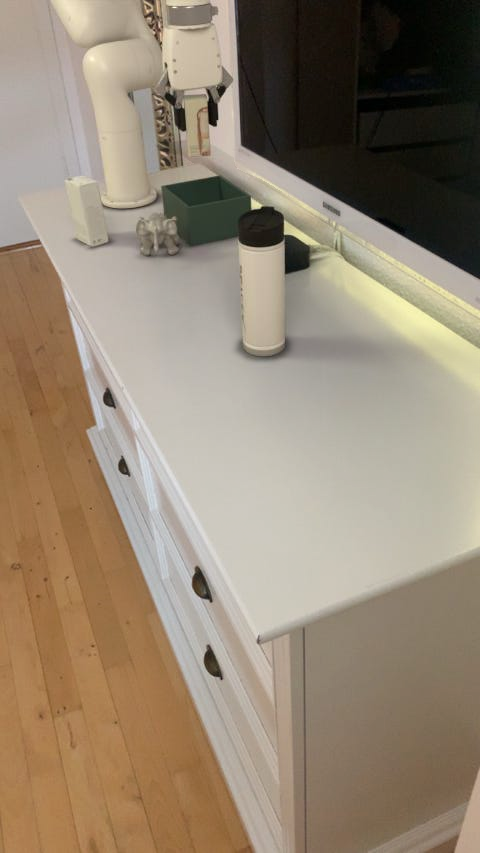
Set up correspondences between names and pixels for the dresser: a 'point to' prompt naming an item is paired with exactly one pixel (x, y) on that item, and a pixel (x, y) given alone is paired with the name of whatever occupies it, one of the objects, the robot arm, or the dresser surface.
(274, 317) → the travel mug
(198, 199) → the bin
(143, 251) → the gray elephant figurine
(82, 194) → the cosmetic box
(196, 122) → the cream printed box
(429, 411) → the dresser surface
